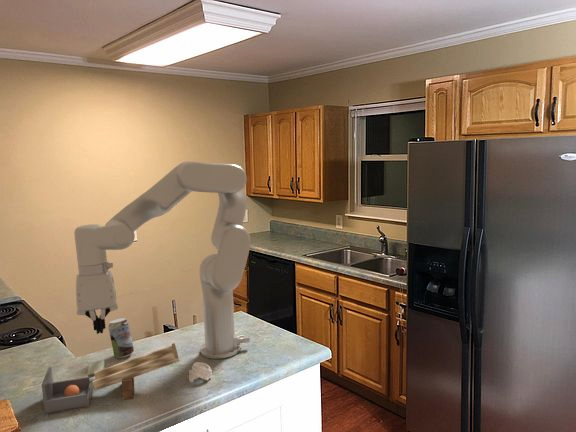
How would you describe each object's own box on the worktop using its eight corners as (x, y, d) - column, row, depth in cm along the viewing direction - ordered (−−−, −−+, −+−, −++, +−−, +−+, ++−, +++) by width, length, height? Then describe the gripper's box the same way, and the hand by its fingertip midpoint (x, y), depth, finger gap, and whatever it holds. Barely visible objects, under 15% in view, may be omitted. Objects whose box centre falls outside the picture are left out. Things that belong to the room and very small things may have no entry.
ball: (66, 382, 121) (64, 395, 121) (64, 388, 118) (62, 401, 118) (81, 382, 122) (78, 395, 123) (79, 389, 119) (77, 402, 119)
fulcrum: (134, 381, 130) (132, 363, 129) (134, 398, 121) (133, 379, 120) (123, 383, 129) (121, 364, 128) (122, 400, 120) (120, 381, 119)
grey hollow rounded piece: (186, 377, 134) (184, 361, 133) (209, 370, 136) (206, 354, 136) (191, 388, 127) (189, 371, 126) (215, 380, 129) (213, 364, 128)
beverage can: (127, 360, 143) (124, 323, 141) (106, 359, 145) (103, 322, 143) (138, 352, 149) (135, 316, 147) (117, 350, 151) (114, 315, 149)
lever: (175, 342, 141) (171, 330, 140) (180, 366, 125) (176, 352, 124) (91, 371, 134) (87, 358, 133) (86, 399, 118) (81, 385, 117)
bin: (92, 388, 127) (90, 360, 126) (89, 407, 117) (86, 377, 116) (51, 395, 124) (48, 366, 122) (44, 415, 114) (41, 384, 113)
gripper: (121, 263, 134) (127, 323, 137) (65, 269, 130) (73, 331, 132) (121, 269, 127) (127, 332, 130) (61, 276, 122) (69, 341, 125)
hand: (100, 331), depth 131 cm, fingers closed
